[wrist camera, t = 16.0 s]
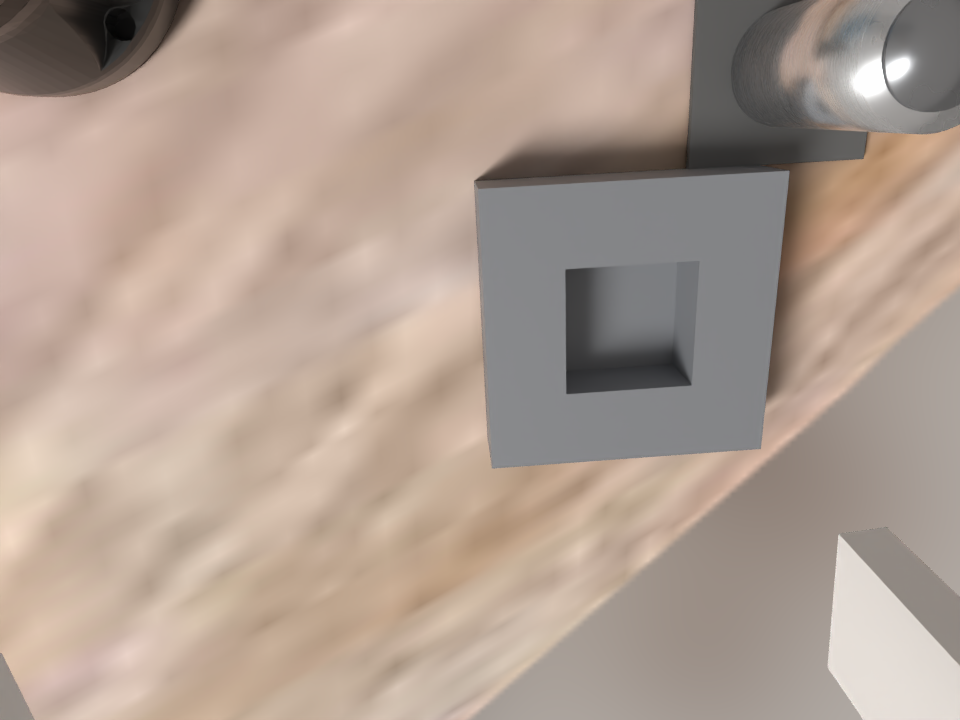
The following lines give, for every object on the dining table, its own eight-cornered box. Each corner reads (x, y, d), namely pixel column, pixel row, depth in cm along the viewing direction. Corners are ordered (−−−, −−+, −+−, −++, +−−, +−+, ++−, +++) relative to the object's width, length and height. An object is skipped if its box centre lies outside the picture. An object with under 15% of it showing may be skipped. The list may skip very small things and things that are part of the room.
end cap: (735, 8, 36) (876, -40, 24) (847, 2, 36) (1041, -49, 24) (726, 130, 38) (854, 139, 26) (833, 123, 38) (1006, 129, 26)
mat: (696, -33, 35) (699, -35, 35) (886, -42, 35) (891, -44, 35) (686, 168, 39) (688, 169, 38) (859, 158, 39) (863, 158, 39)
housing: (474, 180, 38) (478, 188, 34) (755, 164, 39) (789, 170, 35) (487, 437, 44) (492, 468, 40) (733, 419, 44) (760, 448, 41)
